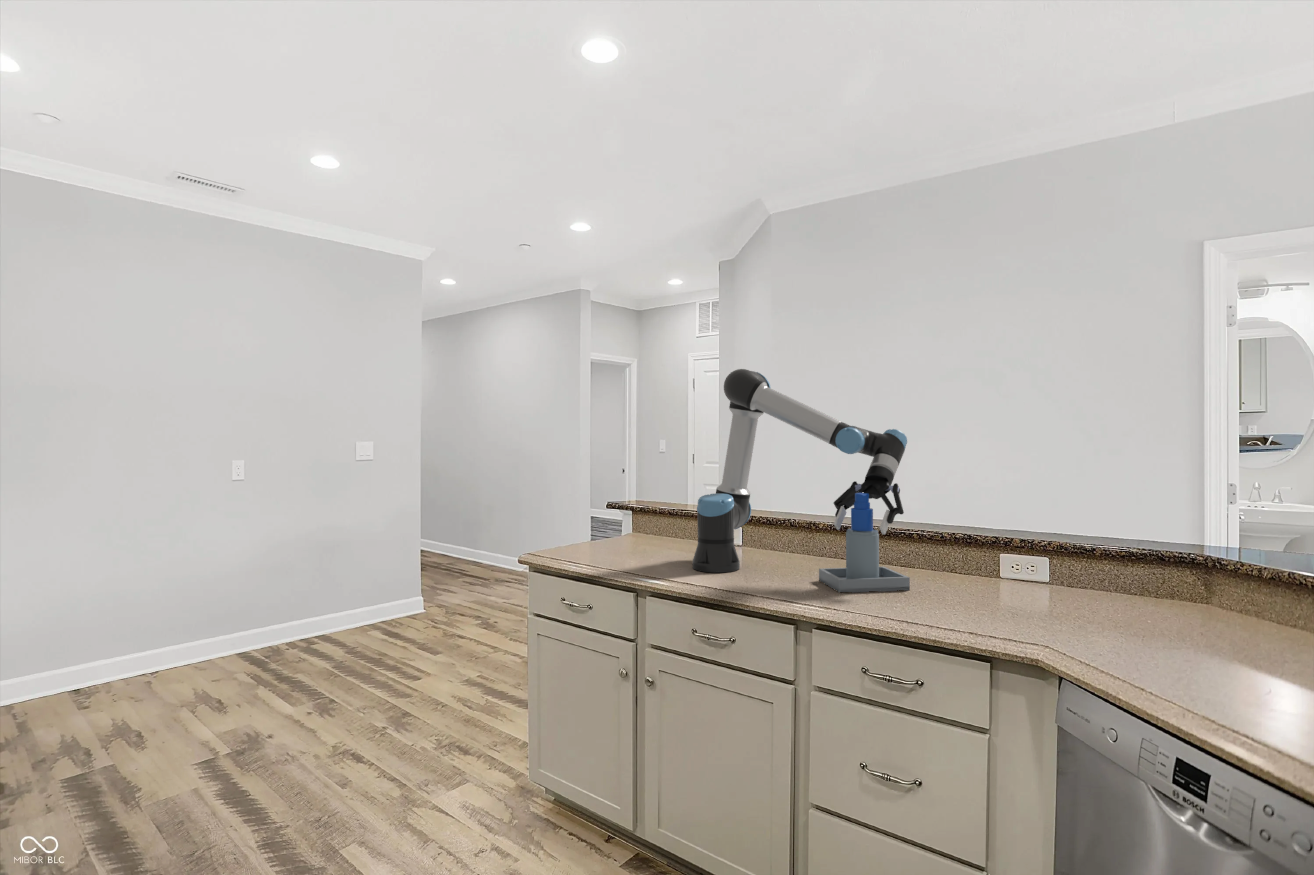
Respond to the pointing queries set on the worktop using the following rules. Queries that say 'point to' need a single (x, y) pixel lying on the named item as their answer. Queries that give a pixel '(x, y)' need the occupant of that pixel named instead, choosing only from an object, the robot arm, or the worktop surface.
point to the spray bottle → (862, 541)
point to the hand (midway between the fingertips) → (858, 529)
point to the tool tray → (864, 581)
